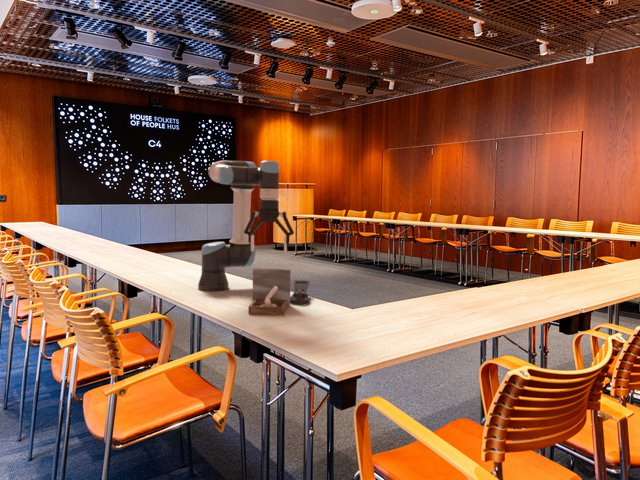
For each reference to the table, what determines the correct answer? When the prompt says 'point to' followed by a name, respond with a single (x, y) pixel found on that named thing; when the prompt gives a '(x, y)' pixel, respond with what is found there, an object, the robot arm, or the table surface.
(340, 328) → the table surface
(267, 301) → the pink door lever handle
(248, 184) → the robot arm
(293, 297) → the zipper pull
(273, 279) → the open wooden box
